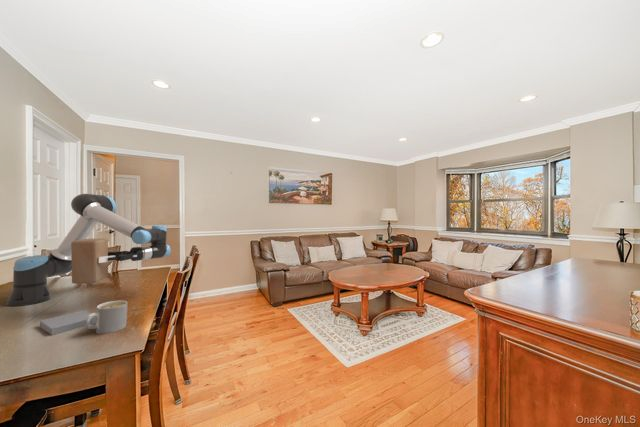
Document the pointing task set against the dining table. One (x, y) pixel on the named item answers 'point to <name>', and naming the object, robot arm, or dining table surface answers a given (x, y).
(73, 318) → the stand
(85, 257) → the block
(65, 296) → the dining table surface
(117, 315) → the coffee mug
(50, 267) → the robot arm
